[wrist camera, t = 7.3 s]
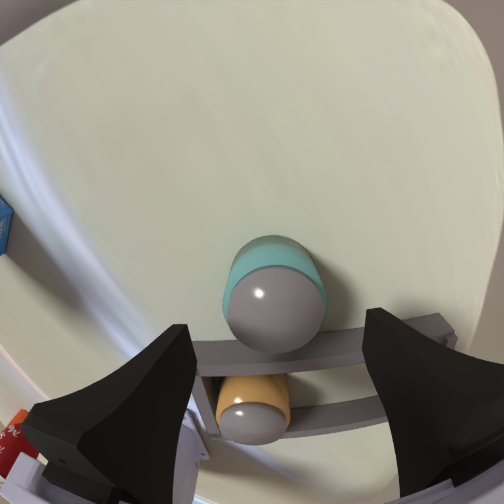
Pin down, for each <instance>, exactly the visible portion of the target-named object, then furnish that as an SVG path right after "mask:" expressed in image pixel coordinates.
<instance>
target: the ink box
mask: <svg viewBox="0 0 504 504" xmlns="http://www.w3.org/2000/svg"><path fill="white" fill-rule="evenodd" d="M12 213H13V210H12V209H11V208H10V207H9V206H8V204H7V203H6V202H5V201H4V200H3V199H2V197H1V196H0V256H1V255H3V254H4V253H5V249H6V243H7V238H8V232H9V227H10V223H11V218H12Z"/></svg>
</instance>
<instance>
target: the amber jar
mask: <svg viewBox="0 0 504 504" xmlns="http://www.w3.org/2000/svg"><path fill="white" fill-rule="evenodd" d="M216 421H217V424H218V425H219V430H220V432H221V434H222V435H223V436H224V437H226V438H227V439H229V440H231V441H233V442H236V443H239V444H244V445H264V444H269V443H272V442H275V441H277V440H278V439H280V438H281V437H282V436H283V435H284V434H285V432H286V428H287V427H288V425H289V423H290V408H289V396H288V384H287V378H286V375H285V374H284V373H280V374H267V375H248V376H223V377H222V381H221V387H220V393H219V399H218V405H217V411H216Z"/></svg>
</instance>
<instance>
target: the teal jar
mask: <svg viewBox="0 0 504 504" xmlns="http://www.w3.org/2000/svg"><path fill="white" fill-rule="evenodd" d="M222 306H223V313H224V317H225V319H226V322H227V324H228V325H229V327H230V330H231V331H232V333H233V335H234V336H235V337H236V338H237V339H238V340H239V341H240V342H241V343H242V344H244V345H245V346H247V347H248V348H250V349H253V350H255V351H258V352H262V353H268V354H280V353H286V352H290V351H293V350H296V349H298V348H300V347H302V346H303V345H305V344H306V343H308V342H309V341H310V340H311V339H312V338H313V337H314V336H315V335H316V334H317V332H318V331H319V329H320V327H321V324H322V322H323V318H324V316H325V313H326V309H327V296H326V291H325V288H324V286H323V283H322V281H321V279H320V276H319V274H318V272H317V270H316V267H315V265H314V263H313V260H312V258H311V256H310V255H309V253H308V252H307V250H306V249H305V248H304V247H303V246H302V245H301V244H299V243H298V242H296V241H295V240H293V239H290V238H288V237H284V236H279V235H268V236H262V237H259V238H256V239H254V240H252V241H250V242H249V243H247V244H246V245H245V246H243V247H242V248H241V249H240V250H239V252H238V253H237V255H236V256H235V258H234V260H233V263H232V266H231V270H230V273H229V277H228V281H227V284H226V288H225V292H224V296H223V305H222Z"/></svg>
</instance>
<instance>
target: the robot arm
mask: <svg viewBox="0 0 504 504" xmlns="http://www.w3.org/2000/svg"><path fill="white" fill-rule="evenodd" d="M362 352H363V356H364V360H365V363H366V366H367V369H368V372H369V374H370V377H371V379H372V381H373V384H374V386H375V388H376V391H377V393H378V395H379V398H380V400H381V402H382V405H383V407H384V410H385V413H386V415H387V419H388V422H389V426H390V430H391V434H392V439H393V444H394V449H395V454H396V460H397V467H398V474H399V486H400V499H397V500H394V501H391V502H387V503H384V504H504V364H499V363H494V362H489V361H485V360H481V359H477V358H475V357H471V356H468V355H466V354H463V353H460V352H457V351H455V350H453V349H451V348H448V347H446V346H444V345H442V344H440V343H438V342H436V341H434V340H432V339H430V338H429V337H427V336H425V335H423V334H422V333H420V332H418V331H417V330H415V329H414V328H412V327H410V326H409V325H407V324H406V323H404V322H403V321H401V320H400V319H398V318H397V317H395V316H394V315H392V314H391V313H389V312H387V311H386V310H384V309H382V308H381V307H379V308H373V309H367V310H366V319H365V328H364V335H363V343H362ZM196 369H197V358H196V355H195V351H194V348H193V344H192V341H191V337H190V333H189V330H188V326H187V324H173V325H172V326H170V327H169V328H168V329H167V330H166V331H164V332H163V333H162V334H161V335H160V336H159V337H158V338H156V339H155V340H154V341H153V342H152V343H151V344H149V345H148V346H147V347H146V348H145V349H144V350H142V351H141V352H140V353H139V354H137V355H136V356H135V357H134V358H132V359H131V360H130V361H128V362H127V363H126V364H125V365H123V366H122V367H120V368H119V369H117V370H116V371H114V372H113V373H111V374H110V375H108V376H106V377H105V378H103V379H101V380H99V381H97V382H95V383H93V384H91V385H89V386H87V387H85V388H83V389H81V390H79V391H76V392H74V393H71V394H68V395H66V396H63V397H60V398H57V399H53V400H49V401H45V402H41V403H37V404H35V405H34V406H33V407H32V409H31V410H30V412H29V413H28V415H27V416H26V418H25V419H24V421H23V422H22V424H21V426H20V427H21V430H22V433H23V434H24V436H25V437H26V438H27V440H28V441H29V442H30V443H31V444H32V445H33V446H34V447H35V448H36V449H37V450H38V451H39V452H40V453H41V454H42V455H43V456H44V457H45V458H46V459H47V460H48V463H47V465H46V466H45V465H44V464H42V463H41V462H39V461H37V460H36V459H34V458H32V457H30V456H29V455H27V454H25V453H23V452H21V453H20V455H19V456H18V458H17V460H16V461H15V463H14V465H13V467H12V469H11V470H10V472H9V474H8V476H7V478H6V480H5V482H4V484H3V485H2V487H1V489H0V495H1V496H3V497H4V498H5V499H6V500H8V501H9V502H10V503H11V504H192V502H193V499H194V494H195V488H196V482H197V477H198V471H199V466H200V461H201V460H209V459H210V456H209V454H208V452H207V450H206V447H205V445H204V443H203V441H202V439H201V437H200V435H199V433H198V431H197V428H196V426H195V424H194V422H193V419H192V417H191V415H190V413H189V411H187V410H186V409H187V405H188V402H189V399H190V396H191V392H192V389H193V385H194V382H195V376H196Z"/></svg>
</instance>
